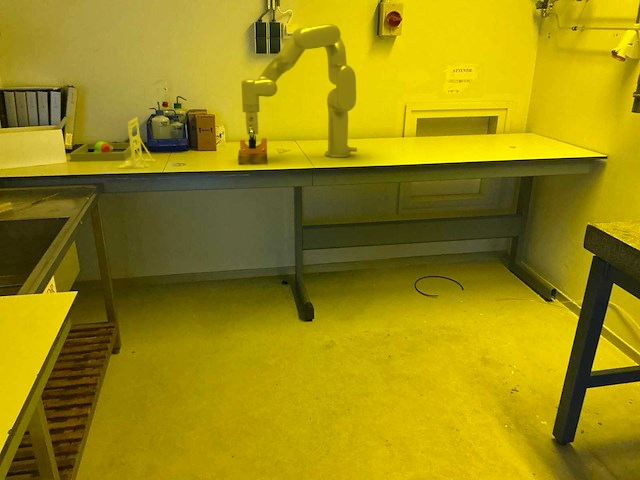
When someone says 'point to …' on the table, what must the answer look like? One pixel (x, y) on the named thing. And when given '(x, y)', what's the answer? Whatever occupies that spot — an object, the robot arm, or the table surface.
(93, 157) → the grey square tray
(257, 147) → the pipe clamp
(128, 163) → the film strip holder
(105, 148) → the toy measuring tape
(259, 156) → the walnut block
